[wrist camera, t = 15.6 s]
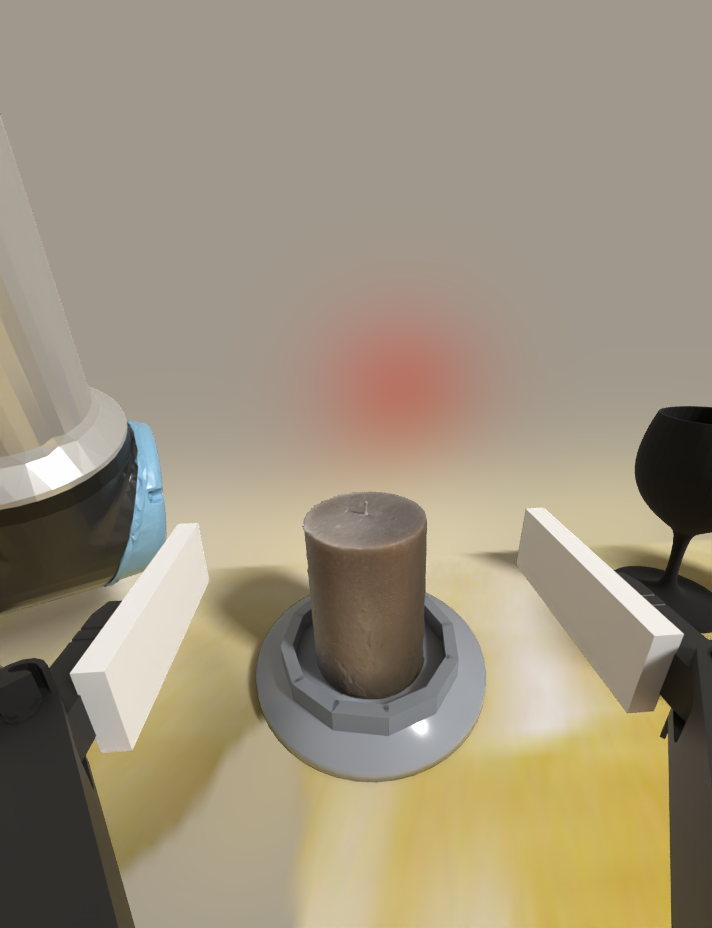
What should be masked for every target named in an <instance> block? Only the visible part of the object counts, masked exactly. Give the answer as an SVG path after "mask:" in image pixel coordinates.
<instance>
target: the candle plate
mask: <svg viewBox="0 0 712 928" xmlns="http://www.w3.org/2000/svg"><path fill="white" fill-rule="evenodd" d="M423 643H424V644H423V652H424V655H423V657H424V658H425V659H424V664H423V668H422V670H421V671H420V674H419V675H418V677H417V679H416V680H415V681H414V682H413V683H412V684H411V685H410V686H409V687H408V688H406V689H405V690H404V691H402V692H400V693H398V694H396V695H394V696H391V697H388V698H383V699H366V698H357V697H353V696H350V695H346V694H344V693H342V692H340V691H338V690H337V689H335V688H334V687H332V686H331V685H330V684H329V683H328V682H327V681H326V680H325V679H324V677H323V676H322V674H321V672H320V669H319V667H318V664H317V658H316V652H315V639H314V628H313V619H312V608H311V597H310V595H309V596H307V597H305V598H303V599H301V600H300V601H299V602H297V603H296V604H294V605H293V606H292V607H290V608H289V609H288V610H287V611H286V612H285V613H284V614H283V615H282V616H281V617H280V618H279V619H278V620H277V621H276V622H275V624H274V625H273V626H272V628H271V629H270V631H269V632H268V634H267V636H266V638H265V640H264V642H263V644H262V647H261V650H260V652H259V656H258V661H257V668H256V682H257V691H258V697H259V702H260V706H261V709H262V712H263V715H264V717H265V719H266V721H267V724H268V726H269V728H270V729H271V731H272V732H273V733H274V735H275V736H276V738H277V739H278V741H280V743H282V744H283V746H284V747H285V748H286V749H287V750H288V751H289V752H290V753H291V754H293V755H294V756H295V757H297V758H298V759H299V760H301V761H302V762H303V763H305V764H307V765H309V766H311V767H313V768H315V769H316V770H318V771H320V772H323V773H326V774H329V775H332V776H335V777H337V778H342V779H347V780H353V781H361V782H383V781H392V780H398V779H402V778H406V777H410V776H414V775H416V774H419V773H421V772H423V771H426V770H428V769H430V768H432V767H434V766H435V765H437V764H439V763H440V762H442V761H443V760H445V759H446V758H448V757H449V756H450V755H451V754H452V753H453V752H454V751H456V750H457V749H458V748H459V747H460V746H461V745H462V743H463V742H464V741H465V740H466V738H467V737H468V736H469V735H470V733H471V731H472V730H473V728H474V726H475V724H476V722H477V721H478V718H479V715H480V712H481V709H482V706H483V700H484V695H485V687H486V669H485V662H484V657H483V654H482V651H481V648H480V645H479V643H478V641H477V639H476V637H475V635H474V634H473V632H472V631H471V629H470V628H469V626H468V625H467V624H466V622H465V621H464V620H463V619H462V618H461V617H460V616H459V615H458V614H457V613H456V612H455V611H454V610H453V609H452V608H450V607H449V606H448V605H446V604H445V603H444V602H442V601H441V600H439V599H437V598H436V597H434V596H432V595H430V594H428V593H426V592H425V602H424V640H423Z"/></svg>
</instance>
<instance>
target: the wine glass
mask: <svg viewBox="0 0 712 928" xmlns="http://www.w3.org/2000/svg"><path fill="white" fill-rule="evenodd" d="M635 478H636V483H637V486H638V489H639V492H640V494H641V496H642V498H643V499H644V501H645V502H646V504H647V505H648V506H649V508H650V509H651V510H652V511H653V512H654V513H655V514H656V515H657V516H658V517H659V518H660V519H661V520H662V521H664V522H665V523H666V524H667V525H668V526H670V527H671V528H672V530H673V533H674V537H673V545H672V550H671V555H670V558H669V562H668V565H667V568H666V570H665V571H664V570H660V569H656V568H650V567H642V566H628V567H622V568H619V569H616V570H615V572H616V573H620V572H624V573H625V574H627V575H629V576H631V577H633V578H634V579H636V580H638V581H640V582H641V583H642V584H644V585H645V586H646V587H647V588H648V589H649V590H651V591H652V592H653V593H654V595H655V596H658V597H659V598H660V599H661V600H662V601H663V602H665V605H666V606H669V607H670V608H672V609H673V610H674V611H675V612H676V613H677V614H679V615H680V616H681V617H682V618H683V619H684V620H686V621H687V622H688V623H689V624H690V625H691V626H693V627H694V628H695V629H696V630H697V631H698V632H700V633H710V632H712V592H711V591H709V590H708V589H706V588H704V587H703V586H701V585H699V584H698V583H696V582H694V581H691V580H689V579H687V578H685V577H682V576H680V575H678V571H679V567H680V564H681V561H682V558H683V555H684V553H685V550H686V548H687V546H688V544H689V542H690V540H691V539H692V538H693V537H694V536H695V535H699V534H704V533H710V532H712V407H697V406H696V407H695V406H682V407H681V406H680V407H668V408H663V409H660V410H659V411H658V413H657V414H656V416H655V417H654V419H653V420H652V422H651V424H650V425H649V427H648V429H647V431H646V433H645V435H644V437H643V439H642V442H641V444H640V446H639V449H638V452H637V457H636V463H635Z"/></svg>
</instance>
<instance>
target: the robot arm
mask: <svg viewBox="0 0 712 928" xmlns="http://www.w3.org/2000/svg"><path fill="white" fill-rule="evenodd" d="M162 492H163V488H162V475H161V468H160V462H159V456H158V451H157V446H156V442H155V439H154V436H153V433H152V430H151V428H150V427H149V426H148V425H147V424H145V423H142V422H134V421H130V420H128V421H127V420H126V417H125V414H124V412H123V410H122V409H121V407H120V406H119V405H118V403H117V402H116V401H115V400H114V399H112V398H111V397H110V396H108V395H106V394H105V393H103V392H102V391H99V390H97V389H95V388H92V387H90V386H88V385H87V381H86V378H85V375H84V372H83V369H82V366H81V363H80V360H79V356H78V354H77V350H76V347H75V344H74V341H73V338H72V335H71V332H70V328H69V325H68V322H67V319H66V316H65V313H64V310H63V307H62V304H61V301H60V298H59V294H58V291H57V288H56V285H55V282H54V279H53V276H52V273H51V269H50V266H49V263H48V260H47V257H46V254H45V251H44V248H43V245H42V242H41V238H40V235H39V232H38V229H37V226H36V223H35V220H34V217H33V214H32V211H31V207H30V204H29V201H28V198H27V195H26V192H25V189H24V186H23V183H22V179H21V177H20V173H19V170H18V167H17V164H16V161H15V158H14V155H13V152H12V149H11V145H10V142H9V139H8V136H7V133H6V130H5V127H4V124H3V121H2V118H1V114H0V615H3V614H6V613H10V612H13V611H17V610H20V609H24V608H27V607H31V606H34V605H38V604H42V603H45V602H49V601H52V600H56V599H59V598H63V597H66V596H70V595H74V594H77V593H81V592H84V591H88V590H91V589H95V588H98V587H102V586H105V587H106V586H111V585H113V584H115V583H117V582H118V581H119V580H121V579H124V578H126V577H129V576H132V575H135V574H138V573H141V572H143V573H142V575H141V576H140V577H139V579H138V580H137V581H136V583H135V584H134V586H133V587H132V588H131V590H130V591H129V592H128V594H127V595H126V597H125V598H124V599H123V601H110V602H108V603H106V604H105V605H104V606H102V607H101V608H100V609H98V610H97V611H96V612H94V613H93V614H92V615H91V616H90V618H89V619H88V620H87V621H86V623H85V624H84V625H83V626H82V628H81V631H78V633H77V634H76V635H75V637H74V638H73V639H72V642H71V643H69V644H68V645H67V647H66V648H65V649H64V650H63V652H62V653H61V654H60V655H59V657H58V658H57V659H56V660H55V662H54V663H53V664H52V665H51V667H50V668H49V667H48V665H47V664H46V663H45V661H44V660H41V659H36V658H32V659H25V660H21V661H18V662H15V663H12V664H10V665H7V666H5V667H3V666H1V665H0V928H135V926H134V922H133V919H132V915H131V911H130V908H129V904H128V901H127V897H126V894H125V890H124V886H123V883H122V879H121V876H120V872H119V869H118V865H117V861H116V858H115V854H114V851H113V847H112V844H111V840H110V836H109V833H108V829H107V826H106V822H105V819H104V815H103V811H102V808H101V804H100V801H99V797H98V794H97V790H96V786H95V783H94V779H93V776H92V772H91V769H90V765H89V762H88V759H87V757H86V753H87V752H88V750H89V748H90V746H91V744H92V743H93V741H94V739H96V741H97V744H98V746H99V749H100V751H101V753H107V752H120V751H132V750H133V748H134V746H135V744H136V741H137V739H138V737H139V735H140V733H141V730H142V728H143V726H144V724H145V722H146V719H147V717H148V715H149V713H150V710H151V708H152V706H153V704H154V702H155V699H156V697H157V695H158V693H159V691H160V688H161V686H162V684H163V682H164V680H165V677H166V675H167V673H168V671H169V669H170V666H171V664H172V662H173V660H174V658H175V655H176V653H177V651H178V649H179V647H180V644H181V642H182V640H183V638H184V636H185V633H186V631H187V629H188V627H189V625H190V622H191V620H192V618H193V616H194V613H195V611H196V609H197V607H198V605H199V602H200V600H201V598H202V596H203V594H204V591H205V589H206V587H207V585H208V583H209V577H208V572H207V566H206V561H205V556H204V551H203V545H202V540H201V535H200V530H199V525H198V523H190V524H178V525H177V527H176V528H175V529H174V530H173V532H172V533H171V535H170V536H169V537H168V539H167V540H166V512H165V502H164V498H163V495H162ZM516 565H517V566H518V568H519V569H520V570H521V572H522V573H523V574H524V576H525V577H526V578H527V580H528V581H529V582H530V584H531V585H532V586H533V588H534V589H535V590H536V592H537V593H538V594H539V596H540V597H541V599H542V600H543V601H544V603H545V604H546V605H547V607H548V608H549V609H550V611H551V612H552V613H553V615H554V616H555V617H556V619H557V620H558V621H559V623H560V624H561V625H562V627H563V628H564V629H565V631H566V632H567V633H568V635H569V636H570V637H571V639H572V640H573V641H574V643H575V644H576V645H577V647H578V648H579V649H580V651H581V652H582V653H583V655H584V656H585V657H586V659H587V660H588V662H589V663H590V664H591V666H592V667H593V668H594V670H595V671H596V672H597V674H598V675H599V676H600V678H601V679H602V680H603V682H604V683H605V684H606V686H607V687H608V688H609V690H610V691H611V692H612V694H613V695H614V696H615V698H616V699H617V700H618V702H619V703H620V704H621V706H622V707H623V708H624V710H625V711H626V712H627V713H636V712H649V711H654V709H655V707H656V704H657V702H658V699H659V697H660V695H661V696H662V697H663V698H664V700H665V701H666V702H667V703H668V704H669V705H670V707H671V710H670V712H669V715H668V717H667V720H666V722H665V724H664V727H663V729H662V732H661V735H660V737H662V738H664V739H665V738H666V736H667V733H668V756H669V812H670V868H671V924H672V928H712V640H708V639H706V638H705V637H704V636H703V635H702V634H701V633H700V632H698V631H697V630H696V629H695V628H694V627H693V626H691V625H690V624H689V623H688V622H687V621H686V620H684V619H683V618H682V617H681V616H680V615H679V614H677V613H676V612H675V611H674V610H673V609H672V608H670V607H669V606H666V605H665V602H663V601H662V600H661V599H660V598H659V597H658V596H655V595H654V593H653V592H652V591H651V590H649V589H648V588H647V587H646V586H645V585H644V584H642V583H641V582H640V581H638V580H636V579H634V578H633V577H631V576H629V575H627V574H625V573H624V572H620V573H616V572H615V571H614V570H612V569H611V568H610V567H609V566H608V565H607V564H606V563H605V562H604V561H602V560H601V559H600V558H599V557H598V556H597V555H596V554H595V553H594V552H592V551H591V550H590V549H589V548H588V547H587V546H586V545H585V544H584V543H582V542H581V541H580V540H579V539H578V538H577V537H576V536H575V535H574V534H572V533H571V532H570V531H569V530H568V529H567V528H566V527H565V526H564V525H562V524H561V523H560V522H559V521H558V520H557V519H556V518H554V516H553V515H551V514H550V513H549V512H548V511H547V510H546V509H545V508H527V509H526V510H525V516H524V522H523V528H522V534H521V540H520V546H519V552H518V557H517V563H516Z"/></svg>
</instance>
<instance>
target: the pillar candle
mask: <svg viewBox="0 0 712 928" xmlns="http://www.w3.org/2000/svg"><path fill="white" fill-rule="evenodd" d="M302 527H303V529H304V531H305V541H306V550H307V560H308V570H307V572H308V576H309V586H310V597H311V608H312V619H313V628H314V639H315V652H316V658H317V664H318V667H319V669H320V672H321V674H322V676H323V677H324V679H325V680H326V681H327V682H328V683H329V684H330V685H331V686H332V687H334V688H335V689H337V690H338V691H340V692H342V693H344V694H346V695H350V696H353V697H357V698H366V699H383V698H388V697H391V696H394V695H396V694H398V693H400V692H402V691H404V690H405V689H406V688H408V687H409V686H410V685H411V684H412V683H413V682H414V681H415V680H416V679H417V677H418V675H419V674H420V671H421V670H422V668H423V664H424V659H425V658H424V657H423V655H424V652H423V644H424V643H423V640H424V602H425V574H426V533H427V520H426V515H425V512H424V510H423V509H422V508H421V507H420V506H419V505H418V504H417V503H415V502H414V501H411V500H409V499H407V498H405V497H402V496H399V495H395V494H389V493H382V492H352V493H349V494H342V495H338V496H336V497H333V498H331V499H329V500H325V501H322V502H321V503H320V504H317V505H315V506H314V507H313V508H312V509H311V510H310V511H309V512H308V513H307V514H306V517H305V519H304V526H302Z"/></svg>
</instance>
